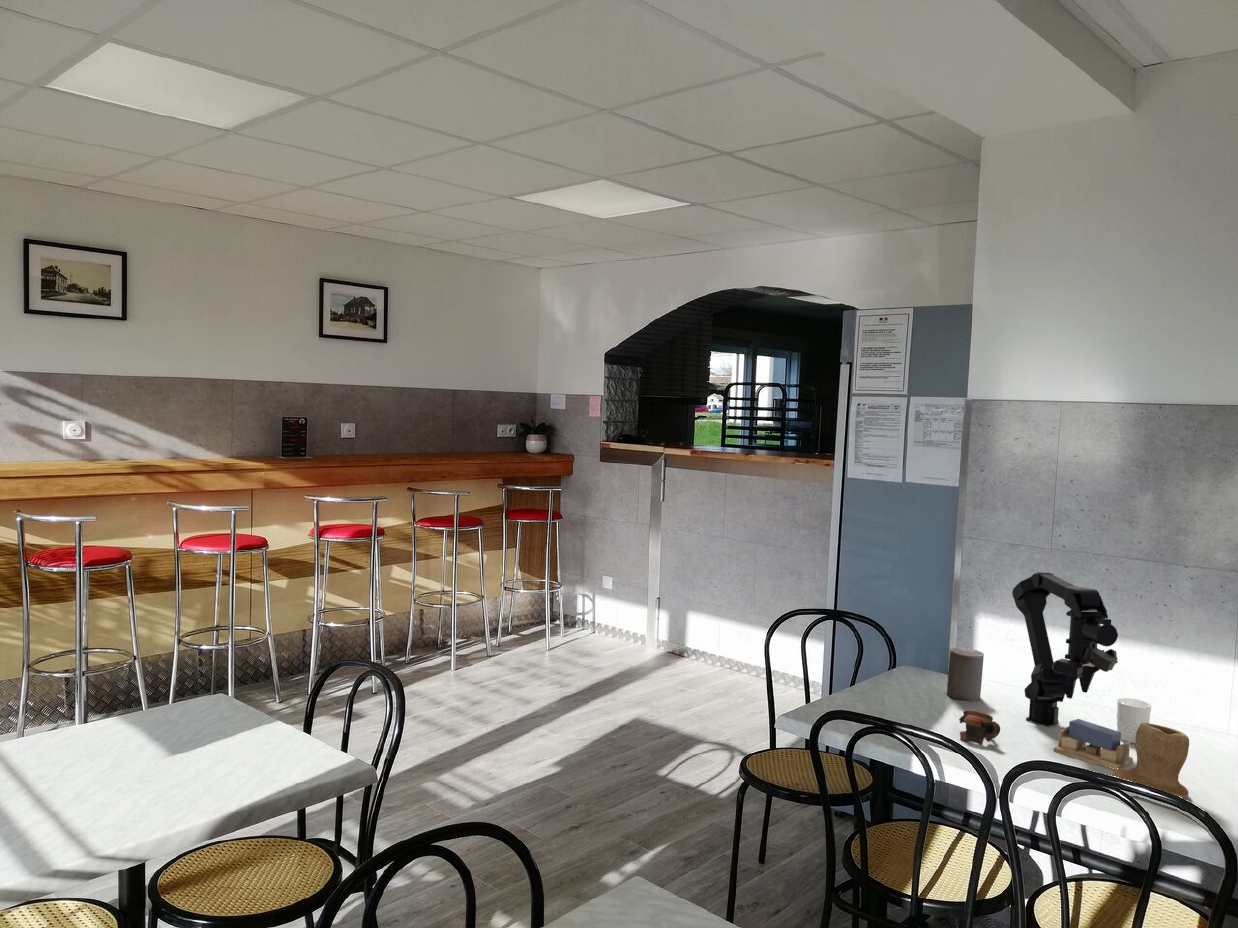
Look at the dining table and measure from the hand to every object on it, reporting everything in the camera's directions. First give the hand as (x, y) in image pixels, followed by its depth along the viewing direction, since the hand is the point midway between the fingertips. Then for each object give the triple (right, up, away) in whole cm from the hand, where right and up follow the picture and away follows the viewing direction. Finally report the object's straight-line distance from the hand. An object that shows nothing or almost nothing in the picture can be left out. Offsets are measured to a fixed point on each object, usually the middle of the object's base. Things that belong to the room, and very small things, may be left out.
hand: (1077, 695), depth 242 cm
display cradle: (-1, -13, -11) cm, 16 cm away
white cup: (+16, -13, +3) cm, 21 cm away
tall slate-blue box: (-1, -9, -11) cm, 14 cm away
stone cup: (+1, -14, -31) cm, 34 cm away
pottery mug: (-27, -11, -2) cm, 29 cm away
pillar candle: (-16, -10, +36) cm, 40 cm away
